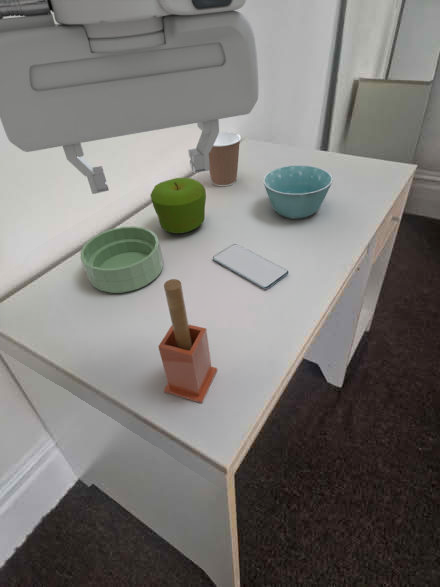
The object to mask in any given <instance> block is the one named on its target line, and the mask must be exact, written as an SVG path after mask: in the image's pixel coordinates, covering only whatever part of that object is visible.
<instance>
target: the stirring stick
mask: <svg viewBox="0 0 440 587" xmlns="http://www.w3.org/2000/svg"><path fill="white" fill-rule="evenodd" d="M181 282H182V281H180V280H179V279H177V278H172V279H168V280H166V281H165V282H164V284H163V290H164V292H165V298H166V302H167V307H168V311H169V316H170V320H171V326H173V330H174V335H175V339H176V344H177V348H180V349H184V350H188V351H190V349H191V348H192V342H191V336H190V331H189V325H190V324H189V319H188V315H187V314H188V313H187V309H186V308H187V307H186V304H185V303H186V302H185V297H184V292H183V285H182V283H181ZM188 324H189V325H188Z"/></svg>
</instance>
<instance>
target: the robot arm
mask: <svg viewBox="0 0 440 587" xmlns="http://www.w3.org/2000/svg"><path fill="white" fill-rule="evenodd" d="M246 2H247V0H0V121H1V122H0V123H1V124H2V127H3V130H4V132H5V135H6V137H7V139H8V141H9V142H10V144H12V145H13V146H15V147H17V148H18V149H19V150H21V151H22V152H25V153H30V152H36V151H41V150H42V151H43V150H47V149H53V148H60V147H62V148H63V152H64V154H65V158H66V160H67V161H68V162H69V163H71V165H72V166H73V167H74V168H76V169H77V171H79V172H80V173H81V174H82V175H83V176H84V177H86V178H87V182H88V185H89V187H90V192H91V194H92V195H96V194H100V193H104V192H108V191H109V186H108V182H107V178H106V175H105V172H104V168H103V166H102V165H100V166H94V167H93V165H92V164H90V162H88V160H87V159H86V158H85V157H84V149H83V148H84V147H83V144H84V143H87V142H93V141H99V140H100V141H101V140H106V139H111V138H117V137H124V136H130V135H136V134H140V133H147V132H151V131H158V130H164V129H169V128H175V127H181V126H187V125H193V124H196V125H197V127H198V128H199V130H201V133H200V137H199V139H198V142H197V144H196V146H195V148H191V149H188V150H187V151H188V158H189V159H190V160H189V166H190V169H191V171H193V174H200V173H203V172H208V171H209V170H210V164H209V153H210V151H211V149H212V147H213V145H214V142H215V140H216V138H217V136H218V134H219V132H220V121H219V120H221V119H228V118H233V117H240V116H245V115H249V114H251V112H252V111H253V109H254V108H255V106H256V104H257V102H258V100H259V65H258V54H257V46H256V38H255V33H254V30H253V26H252V24H251V22H250V20H249V19H248V18H247V16H245V15H244V14H243V13H241V12H239V11H238V10H240V9H242V8H243V7H244V5H245V4H246ZM82 143H83V144H82ZM209 172H210V171H209Z"/></svg>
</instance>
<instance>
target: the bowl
mask: <svg viewBox="0 0 440 587" xmlns="http://www.w3.org/2000/svg"><path fill="white" fill-rule="evenodd" d="M262 182H263V186H264V189H265V191H266V194H267V197H268V199H269V201H270V204H271V207H272V209H273V211H274V212H276V213H277V214H278V215H280V216H282V217H284V218H287V219H292V220H293V219H294V220H299V219H300V220H301V219H306V218H308V217H310V216H312V215H313V214H315V213H317V212H318V211H319V209H320V208H321V206H322V204H323V202H324V200H325V199H326V196H327V194H328V192H329V190H330V188H331V185H332V183H333V176H332V174H331V173H330V172H329V171H327V170H326V169H323V168H321V167H318V166H312V165H306V164H305V165H304V164H302V165H301V164H293V165H286V166H281V167H280V166H279V167H276V168H275V169H272V170H270V171H268V172H267V173H266V174H265V175H264V177H263V180H262Z"/></svg>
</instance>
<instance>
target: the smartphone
mask: <svg viewBox="0 0 440 587" xmlns="http://www.w3.org/2000/svg"><path fill="white" fill-rule="evenodd" d="M212 260H213V261H215V262H216V263H218V264H220V265H221V266H224V267H225V268H226V269H228V270H230V271H232V272H234V273H235V274H237V275H239V276H241V277H243V278H244V279H246V280H247V281H250V282H251V283H253V284H254V285H256V286H258V287H260V288H262V289H264V290H268V289H270V288H271V287H272V286H274V285H275V284H277V283H278V282H279V281H282V279H283V278H285V277H286V276H287V275H289V270H288V269H286V268H284V267H282V266H280V265H278V264H276V263H275V262H272V261H271V260H268V259H266V258H265V257H262V256H261V255H258V254H256V253H254V252H253V251H251V250H249V249H247V248H245V247H243V246H241V245H239V244H236V243H234V244H231V245H230V246H228V247H227V248H225V249H223V250H222V251H220V252H217V253H216V254H215V255H213V256H212Z"/></svg>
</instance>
